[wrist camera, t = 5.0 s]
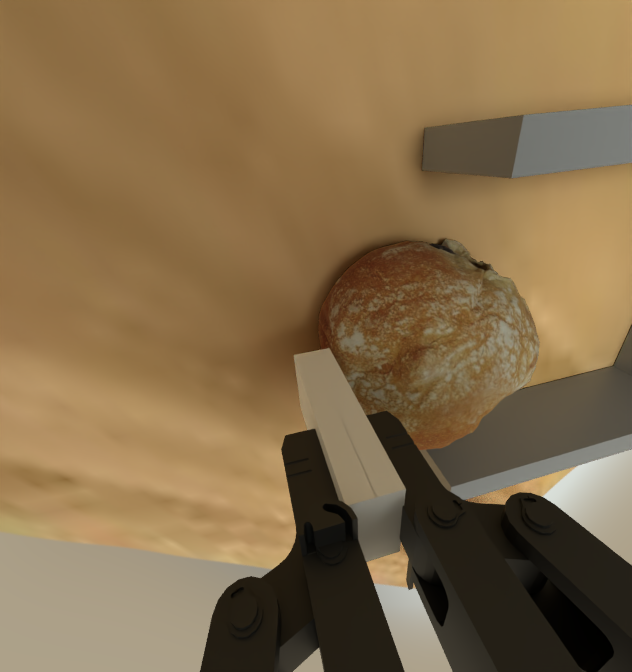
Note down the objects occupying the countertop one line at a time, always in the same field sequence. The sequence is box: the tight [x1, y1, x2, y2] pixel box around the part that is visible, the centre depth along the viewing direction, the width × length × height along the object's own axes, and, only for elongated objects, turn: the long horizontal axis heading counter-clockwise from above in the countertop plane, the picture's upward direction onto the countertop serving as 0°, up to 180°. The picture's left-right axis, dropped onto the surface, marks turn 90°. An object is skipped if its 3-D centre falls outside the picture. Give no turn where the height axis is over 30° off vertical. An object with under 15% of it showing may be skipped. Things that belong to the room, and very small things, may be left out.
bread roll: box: [318, 239, 539, 450], centre depth 15 cm, size 10×10×8 cm
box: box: [420, 105, 632, 500], centre depth 16 cm, size 17×18×5 cm
